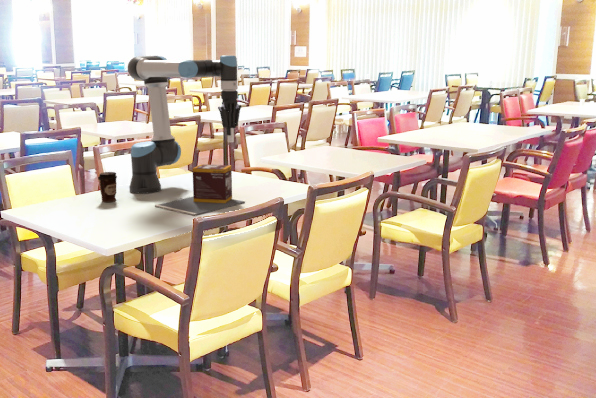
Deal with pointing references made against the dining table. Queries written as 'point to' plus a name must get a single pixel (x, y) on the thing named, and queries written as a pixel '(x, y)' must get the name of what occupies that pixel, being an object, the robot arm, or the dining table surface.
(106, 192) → the coffee cup
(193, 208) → the mat
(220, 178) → the supplement box
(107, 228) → the dining table surface
